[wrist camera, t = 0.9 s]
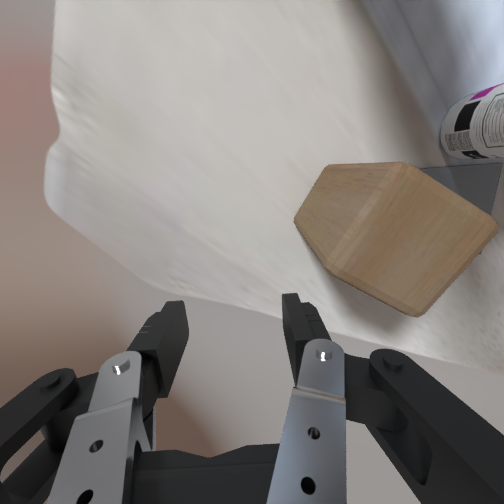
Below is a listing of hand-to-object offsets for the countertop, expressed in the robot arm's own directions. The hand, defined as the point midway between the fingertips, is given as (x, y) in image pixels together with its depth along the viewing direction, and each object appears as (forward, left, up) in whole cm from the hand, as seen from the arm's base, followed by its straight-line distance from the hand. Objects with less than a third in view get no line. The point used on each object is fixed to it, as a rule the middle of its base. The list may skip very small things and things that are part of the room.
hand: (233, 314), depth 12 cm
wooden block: (0, +14, -27) cm, 31 cm away
